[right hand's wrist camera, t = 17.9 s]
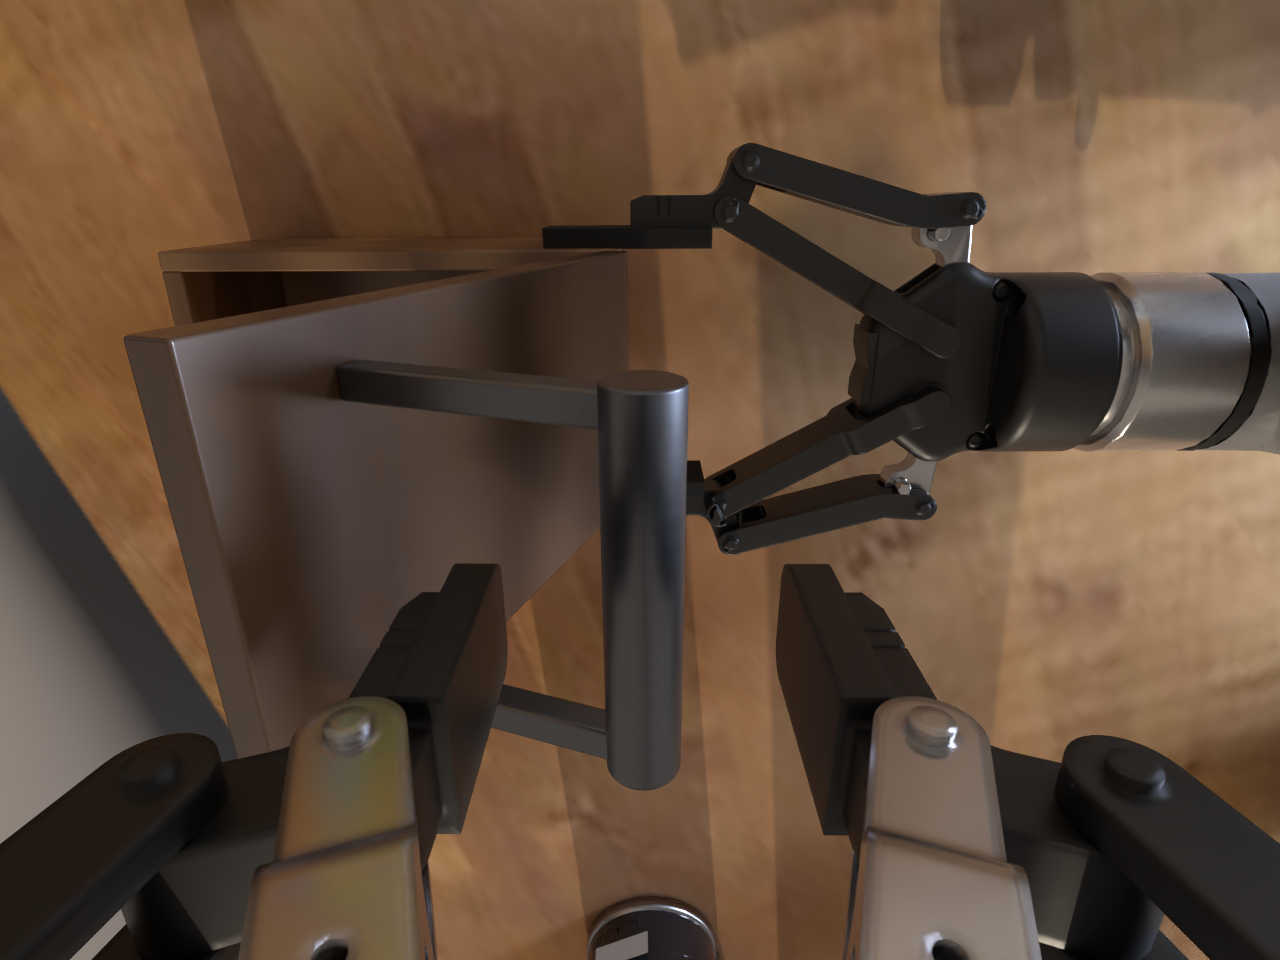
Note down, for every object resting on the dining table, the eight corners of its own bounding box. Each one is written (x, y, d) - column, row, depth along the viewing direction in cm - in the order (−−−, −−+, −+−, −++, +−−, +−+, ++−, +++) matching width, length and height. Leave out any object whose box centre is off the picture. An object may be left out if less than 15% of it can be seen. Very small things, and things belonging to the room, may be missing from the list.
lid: (254, 827, 14) (614, 962, 12) (120, 335, 11) (600, 376, 8) (608, 493, 30) (794, 520, 28) (603, 250, 26) (816, 255, 24)
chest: (303, 430, 38) (214, 492, 30) (267, 238, 35) (155, 251, 27) (623, 428, 38) (620, 490, 30) (621, 236, 35) (616, 249, 27)
